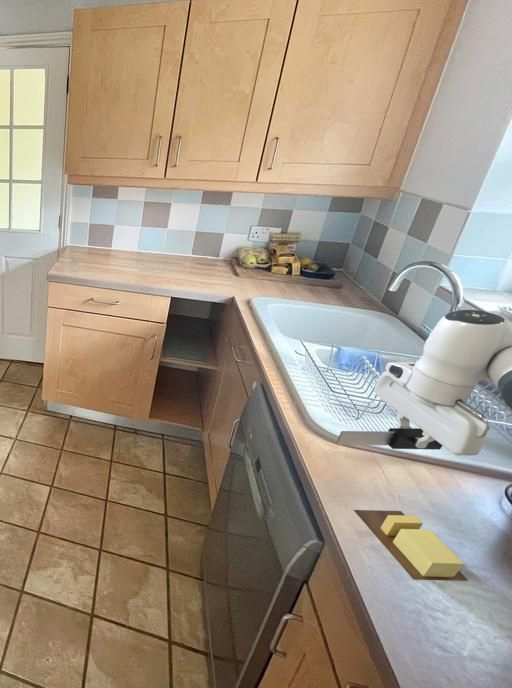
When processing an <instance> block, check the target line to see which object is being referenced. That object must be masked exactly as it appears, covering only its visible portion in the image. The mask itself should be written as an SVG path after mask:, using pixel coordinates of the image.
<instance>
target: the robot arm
mask: <svg viewBox="0 0 512 688" xmlns="http://www.w3.org/2000/svg"><path fill="white" fill-rule="evenodd" d="M422 351H423V352H422V355H421V356H420V358H419V359H417V361H416V362H414V361H413V362H412V361H391V362H387V364H386V365H385V371H382V373H381V374H380V376H379V378H378V380H377V381H376V384H375V386H374V393H375V395H376V396H377V397H378V398H379V399H381V400H382V401H383V402H385V403H386V404H387V405H389V406H390V407H391V408H393V409H394V410H395V411H396V412H397V413H396V418H397V424H398V425H397V427H396V428H412V427H411V426H410V425H411V424H410V422H411V423H412V424H414V425H415V426H416V427H418V428H420V429H422V430H423V433H422V435H424V437H414V438H413V441H412V443H413V444H414V445H415V446H416V447H417V448H425V447H426V446H427V444H428V443H429V442H431V441H434V440H436V441H437V442H439V443H440V444H441V445H442V447H444V448H445V449H447V450H448V451H449V452H450V453H452V454H453V455H455V456H463V457H469V456H470V457H471V456H477V455H479V454H480V452H481V450H482V448H483V446H484V443H485V440H486V438H487V435H488V432H489V431H490V430H491V424H490V422H489V420H488V419H487V418H486V417H487V416H486V415H485V414H484V413H482V412H481V411H479V410H477V409H475V408H474V407H472V406H471V405H470V404H468V403H467V402H468V401H469V399H470V397H471V396H472V394H473V392H474V390H475V388H476V386H478V383H479V382H481V381H487V382H492V383H493V384H494V385H495V386H496V388H497V390H498V392H499V394H500V396H501V398H502V400H503V402H504V403H505V404H506V406H507V407H509V408H510V409H511V410H512V324H510V323H509V322H508V321H506V319H505V318H504V317H502V316H501V315H499V314H496V313H493V312H488V311H484V310H477V309H459V310H453V311H450V312H448V313H445V315H443V316H442V317H441V318H440V319H439V320H438V321H437V323H436V325H435V326H434V327H433V329H432V330H431V332H430V334H429V336H428V337H427V339H426V340H425V343H424V345H423V349H422Z"/></svg>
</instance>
